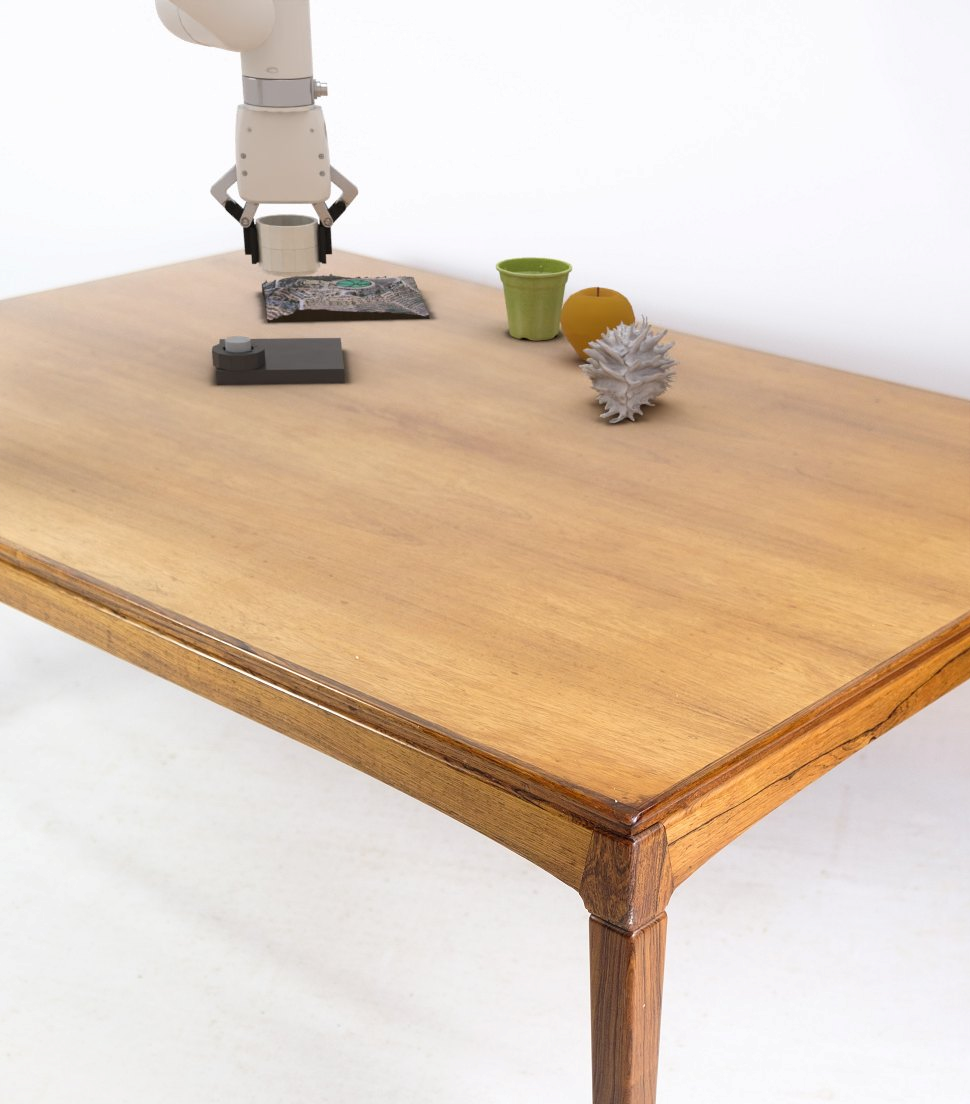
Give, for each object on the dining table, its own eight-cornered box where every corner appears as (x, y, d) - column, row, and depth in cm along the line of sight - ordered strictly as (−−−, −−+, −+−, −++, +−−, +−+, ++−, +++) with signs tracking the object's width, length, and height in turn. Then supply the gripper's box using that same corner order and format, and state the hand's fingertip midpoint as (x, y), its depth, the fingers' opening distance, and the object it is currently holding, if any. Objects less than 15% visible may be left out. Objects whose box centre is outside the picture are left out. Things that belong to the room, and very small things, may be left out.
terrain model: (268, 323, 204) (266, 297, 203) (262, 295, 217) (260, 270, 216) (429, 319, 209) (428, 294, 207) (414, 291, 222) (413, 267, 220)
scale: (213, 386, 180) (211, 355, 179) (217, 353, 192) (215, 323, 190) (345, 384, 183) (343, 353, 181) (341, 351, 194) (339, 322, 193)
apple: (556, 350, 199) (558, 276, 194) (629, 351, 199) (632, 277, 195) (561, 371, 191) (562, 295, 186) (637, 372, 192) (640, 296, 187)
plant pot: (514, 348, 199) (514, 276, 195) (484, 329, 206) (484, 259, 202) (583, 341, 203) (585, 271, 199) (551, 323, 210) (552, 254, 206)
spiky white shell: (659, 415, 185) (565, 432, 180) (642, 317, 183) (547, 331, 178) (709, 407, 175) (611, 425, 170) (693, 303, 173) (593, 319, 168)
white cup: (258, 277, 180) (255, 226, 178) (259, 263, 186) (255, 214, 184) (321, 277, 182) (318, 226, 179) (319, 263, 187) (317, 214, 185)
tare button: (225, 354, 180) (224, 342, 180) (226, 348, 183) (225, 336, 182) (251, 354, 181) (250, 342, 180) (251, 347, 183) (250, 335, 182)
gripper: (359, 89, 180) (365, 253, 188) (197, 87, 177) (211, 254, 185) (361, 99, 173) (368, 268, 182) (193, 97, 170) (208, 269, 179)
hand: (289, 259), depth 183 cm, fingers closed on white cup, 6 cm apart
